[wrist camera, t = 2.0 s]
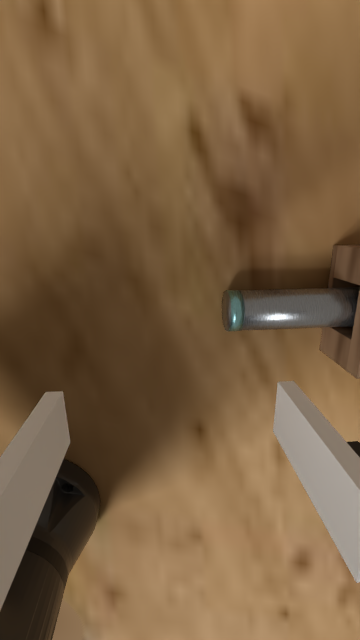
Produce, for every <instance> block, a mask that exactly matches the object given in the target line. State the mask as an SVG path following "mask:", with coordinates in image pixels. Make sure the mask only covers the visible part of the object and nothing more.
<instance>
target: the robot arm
mask: <svg viewBox="0 0 360 640" xmlns="http://www.w3.org/2000/svg"><path fill="white" fill-rule="evenodd" d="M273 432H274V434H275V436H276V437H277V439H278V441H279V443H280V445H281V446H282V448H283V450H284V452H285V454H286V456H287V457H288V459H289V461H290V463H291V465H292V466H293V468H294V470H295V472H296V474H297V476H298V477H299V479H300V481H301V483H302V485H303V486H304V488H305V490H306V492H307V494H308V496H309V497H310V499H311V501H312V503H313V505H314V506H315V508H316V510H317V512H318V514H319V516H320V517H321V519H322V521H323V523H324V525H325V526H326V528H327V530H328V532H329V534H330V536H331V537H332V539H333V541H334V543H335V545H336V546H337V548H338V550H339V552H340V554H341V556H342V557H343V559H344V561H345V563H346V565H347V566H348V568H349V570H350V572H351V574H352V576H353V577H354V579H355V581H356V583H357V582H360V443H359V442H358V441H354V442H346V441H345V440H344V439H343V438H342V436H341V435H340V434H339V433H338V432H337V431H336V429H335V428H334V427H333V426H332V425H331V424H330V422H329V421H328V420H327V419H326V418H325V417H324V416H323V414H322V413H321V412H320V411H319V410H318V409H317V407H316V406H315V405H314V404H313V403H312V402H311V400H310V399H309V398H308V397H307V396H306V395H305V393H304V392H303V391H302V390H301V389H300V388H299V387H298V385H297V384H296V383H295V382H294V381H283V382H278V385H277V396H276V407H275V417H274V428H273ZM69 444H70V436H69V429H68V422H67V415H66V409H65V402H64V395H63V391H56V392H45V393H44V395H43V396H42V398H41V399H40V401H39V402H38V404H37V405H36V407H35V408H34V409H33V411H32V412H31V414H30V415H29V417H28V418H27V420H26V421H25V422H24V424H23V425H22V427H21V428H20V430H19V431H18V433H17V434H16V435H15V437H14V438H13V440H12V441H11V443H10V444H9V446H8V447H7V448H6V450H5V451H4V453H3V454H2V456H1V457H0V640H52V638H53V633H54V630H55V626H56V622H57V617H58V614H59V610H60V605H61V602H62V598H63V593H64V589H65V586H66V582H67V578H68V575H69V573H70V571H71V569H72V568H73V566H74V564H75V563H76V561H77V559H78V557H79V556H80V554H81V552H82V551H83V549H84V547H85V545H86V544H87V542H88V540H89V538H90V537H91V535H92V533H93V531H94V529H95V526H96V522H97V518H98V513H99V508H100V497H99V492H98V489H97V487H96V485H95V483H94V482H93V480H92V479H91V478H90V477H89V475H88V474H87V473H86V472H84V471H83V470H82V469H81V468H79V467H78V466H76V465H74V464H73V463H71V462H69V461H66V460H64V456H65V454H66V452H67V449H68V447H69Z"/></svg>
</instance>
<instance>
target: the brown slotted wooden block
mask: <svg viewBox="0 0 360 640" xmlns="http://www.w3.org/2000/svg"><path fill="white" fill-rule="evenodd" d="M346 287H360V245H334V246H333V254H332V261H331V269H330V276H329V284H328V288H346ZM320 351H322V352H323V353H324V354H326V355H327V356H328V357H329V358H331V359H332V360H333V361H335V362H336V363H337V364H338V365H340V366H341V367H342V368H344V369H345V370H346V371H347V372H349V373H350V374H351V375H353V376H354V377H355V378H356V379H358V378H360V290H359V296H358V302H357V308H356V314H355V320H354V326H349V327H323V328H322V336H321V343H320Z"/></svg>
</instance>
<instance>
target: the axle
mask: <svg viewBox="0 0 360 640" xmlns="http://www.w3.org/2000/svg"><path fill="white" fill-rule="evenodd" d="M359 290H360V287H346V288H310V289H275V290H240V291H239V290H226V291H225V292H224V294H223V298H222V320H223V325H224V328H225V330H226V331H240V330H265V329H293V328H321V327H349V326H354V320H355V314H356V308H357V302H358V296H359Z"/></svg>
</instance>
